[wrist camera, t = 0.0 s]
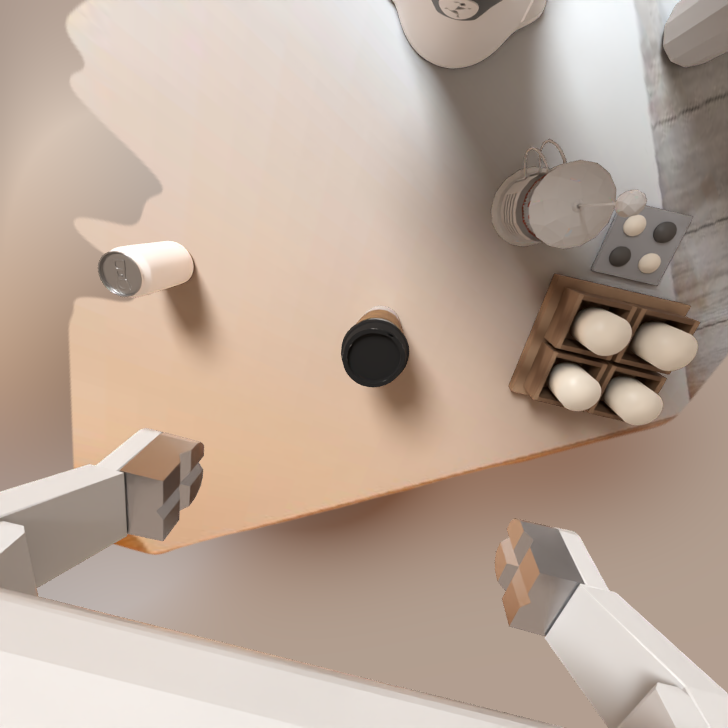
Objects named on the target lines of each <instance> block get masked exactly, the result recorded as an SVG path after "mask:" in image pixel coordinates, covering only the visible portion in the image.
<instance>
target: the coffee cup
mask: <svg viewBox="0 0 728 728" xmlns="http://www.w3.org/2000/svg"><path fill="white" fill-rule="evenodd" d="M341 356H342V361H343V365H344V368H345V370H346V372H347V374H348V375H349V376H350V378H351V379H352V380H354V381H355V382H356V383H358V384H360V385H363V386H367V387H380V386H383V385H386V384H388V383H390V382H391V381H393V380H394V379H395V378H396V377H397V376H398V375H399V374H400V373H401V372H402V371H403V370H404V368H405V366H406V364H407V361H408V357H409V346H408V342H407V339H406V338H405V336H404V333H403V330H402V327H401V324H400V320H399V317H398V315H397V314H396V313H395V311H393V310H392V309H391V308H389V307H386V306H376V307H373V308H371V309H369V310H368V311H367V312H366V313H365V314H364V316H363V317H362V318H361V319H360V320H359V321H358V322H357V323H356V325H354V326H353V327H352V328H351V329H350V330H349V331H348V332H347V333H346V335H345V337H344V339H343V343H342V349H341Z"/></svg>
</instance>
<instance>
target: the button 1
mask: <svg viewBox="0 0 728 728" xmlns="http://www.w3.org/2000/svg"><path fill="white" fill-rule="evenodd" d="M546 383H547V386H548V388H549V389H550V390H551V391H552V393H553V394H554V395H555V396H556V397H557V399H558V400H559V401H560V402H561V403H562V405H563V406H564V407H565V408H567V409H569V410H572V411H583V410H586V409H589V408H591V407H592V406H593V405H595V404H596V403H597V401H598V400H599V398H600V396H601V387H600V384H599V383H598V382H597V381H596V380H595V379H594V378H593V377H592V376H590V375H589V374H588V373H587V372H586V371H585V370H584V369H582V368H581V367H580V366H579V365H578V364H576V363H573V362H562V363H559V364H557V365H555V366H554V367H553V368H551V370H550V372H549V374H548V377H547V379H546Z"/></svg>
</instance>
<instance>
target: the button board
mask: <svg viewBox="0 0 728 728" xmlns="http://www.w3.org/2000/svg"><path fill="white" fill-rule="evenodd" d="M587 307H600V308H603V309H605V310H607V311H609V312H611V313H613V314H615V315H617V316H619V317H621V318H623V319H625V320H626V321H627V322H628V323H629V324H630V326H631V329H632V336H631V339H632V337H633V335H634V333H635V332H636V330H637V328H638V326H639V325H641V324H642V323H645V322H648V321H660V322H663V323H665V324H668V325H670V326H672V327H675V328H677V329H679V330H682V331H684V332H686V333H689V334H691V335H692V336H693V334H694V332H695V331H696V329H697V327H698V326H699V324H700V322H699V321H696V320H693V319H691V318H688V317H685V316H686V314H687V312H688V311H689V309H690V307H691V306H689V305H686V304H683V303H679V302H675V301H671V300H666V299H662V298H658V297H653V296H649V295H645V294H641V293H636V292H632V291H628V290H623V289H619V288H615V287H611V286H606V285H602V284H598V283H593V282H589V281H585V280H581V279H576V278H572V277H568V276H563V275H559V274H554V276H553V278H552V281H551V283H550V286H549V288H548V291H547V293H546V296H545V298H544V300H543V303H542V305H541V308H540V310H539V313H538V315H537V317H536V320H535V322H534V325H533V327H532V330H531V332H530V335H529V337H528V339H527V342H526V344H525V347H524V349H523V352H522V354H521V356H520V359H519V361H518V364H517V366H516V369H515V371H514V374H513V376H512V378H511V381H510V383H509V388H510V389H511V391H512V392H517V393H521V394H525V395H529V396H530V397H531V398H532V399H533V400H536V401H541V402H545V403H549V404H553V405H557V406H562V407H564V406H563V405H562V403H561V402H560V401H559V400H558V399H557V397H556V396H555V395H554V394H553V393H552V391H551V390H550V389H549V388H548V386H547V383H546V379H547V377H548V374H549V372H550V370H551V368H553V367H554V366H555V365H557V364H559V363H562V362H573V363H576V364H578V365H579V366H580V367H581V368H582V369H584V370H585V371H586V372H587V373H588V374H589V375H590V376H592V377H593V378H594V379H595V380H596V381H597V382H598V383H599V384H600V387H601V396H600V398H599V400H598V401H597V403H596V404H595V405H593V406H592V407H591V408H589V409H586V411H587V412H588V413H591V414H595V415H600V416H604V417H608V418H612V419H616V420H621V421H624V420H623V419H622V418H621V417H620V416H618V415H617V414H616V413H615V412H614V411H613V410H612V409H611V408H610V407H609V406H608V405H607V404H606V403H605V402H604V401H603V399H602V394H603V392H604V390H605V388H606V387H607V385H608V383H609V381H610V379H612V378H614V377H616V376H620V375H628V376H632V377H634V378H635V379H637V380H638V381H639V382H641V383H642V384H644V385H645V386H646V387H648V388H649V389H651V390H652V391H653V392H655V393H656V394H658V393H659V391H660V390H661V388H662V386H663V385H664V383H665V381H666V379H667V378H665V377H664V376H662V375H660V374H659V373H657V372H660V373H664V374H670V373H671V371H664V370H661V369H659V368H657V367H655V366H654V365H652V364H650V363H649V362H647V361H646V360H644V359H642V358H641V357H639V356H637V355H636V354H634V353H633V352H632V351H631V350H630V348H629V343H630V341H631V339H630V341H629V343H628V344H627V346H626V347H625V348H624V349H623V350H621V351H620V352H618V353H616V354H613V355H609V356H600V355H597V354H595V353H593V352H592V351H591V350H589V349H588V348H586V347H585V346H584V345H582V344H581V343H580V342H578V341H577V340H576V339H575V338H574V337H573V336H572V335H571V332H570V326H571V324H572V321H573V319H574V317H575V315H576V314H577V313H578V312H579V311H581V310H582V309H585V308H587ZM583 412H584V410H583Z"/></svg>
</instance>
